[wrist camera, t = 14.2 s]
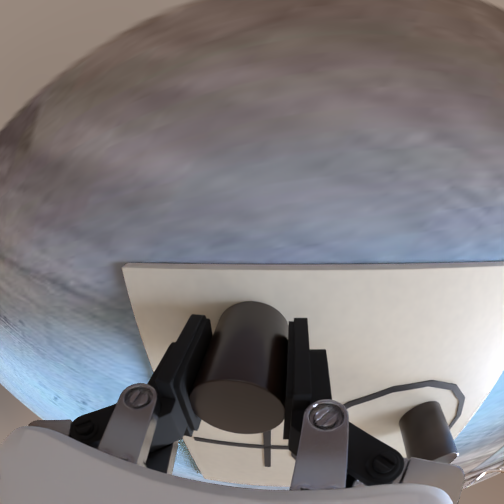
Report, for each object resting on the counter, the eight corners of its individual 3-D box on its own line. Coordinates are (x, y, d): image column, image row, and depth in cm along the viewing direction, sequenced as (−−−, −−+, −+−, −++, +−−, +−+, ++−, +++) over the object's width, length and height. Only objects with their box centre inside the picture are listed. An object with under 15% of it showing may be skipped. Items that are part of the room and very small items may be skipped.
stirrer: (459, 501, 19) (475, 491, 18) (455, 488, 23) (471, 477, 21) (510, 470, 19) (524, 459, 17) (506, 460, 22) (519, 448, 21)
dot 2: (407, 405, 13) (423, 461, 9) (446, 396, 12) (466, 447, 8) (392, 431, 14) (402, 481, 10) (429, 423, 14) (443, 469, 9)
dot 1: (214, 299, 12) (179, 374, 7) (290, 301, 11) (288, 382, 7) (222, 354, 13) (198, 428, 8) (288, 357, 12) (284, 436, 8)
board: (127, 262, 12) (120, 268, 12) (541, 259, 9) (548, 263, 8) (205, 474, 21) (204, 479, 20) (427, 463, 17) (428, 467, 17)
